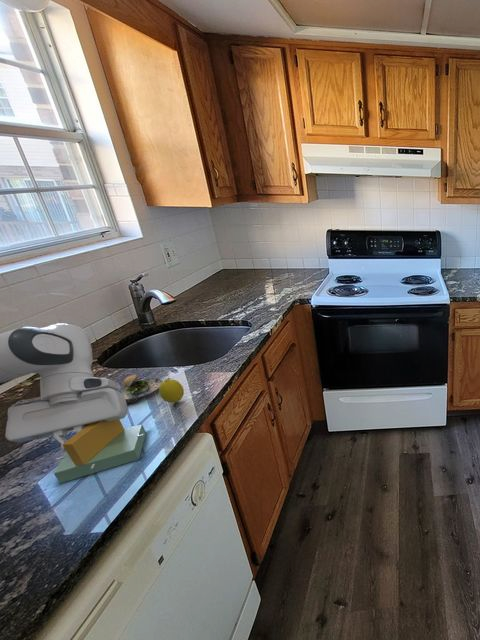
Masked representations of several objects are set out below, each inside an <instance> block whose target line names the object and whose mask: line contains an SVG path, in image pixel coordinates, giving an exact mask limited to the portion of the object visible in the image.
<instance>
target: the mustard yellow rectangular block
mask: <svg viewBox="0 0 480 640" xmlns="http://www.w3.org/2000/svg"><path fill="white" fill-rule="evenodd" d="M104 422H105V420H102V421H97V422H93V423H90V424H89V425H87V426H86V427H85V428H83V429H82V430H81V431H79V432H78V433H77V432H76V433H77V434H76V433H75V434H73V435H72V437H70V438H69V439H67V440H68V441H66V442H65V443H64V444H62V445H63V446H64V448H65V450H66V451H67V453H68V455H69V456H70V458H71V459H72V461H73V463H74V464H75V465H85V464H86V463H87V462H88V461H89V460H90V459H92V458H93V457H94V456H95V455H96V454H97V453H98V452H100V451H101V450H102V449H103V448H104V447H105V446H107V445H108V444H109V443H110V442H111V441H112V440H113V439H115V438H116V437H117V436H118V435H119V434H120V433H121V432H123V431H124V430H125V429H126V428H125V427H124V425H123V424H122V421H121V419H119V420H115V421H110V422H106V423H104ZM66 451H65V452H66Z"/></svg>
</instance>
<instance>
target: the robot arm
mask: <svg viewBox="0 0 480 640" xmlns="http://www.w3.org/2000/svg"><path fill="white" fill-rule="evenodd" d="M91 343H92V342H91V339H90V336H89V335H88V333H87V331H86V330H85V329H83V328H82V327H80V326H78V325H75V324H70V323H53V324H49V325H47V326H45V327H35V326H22V327H18V328H14V329H11V330H8V331H5V332H1V333H0V387H1V386H2V385H5V384H8V383H10V382H12V381H13V380H16V379H18V378H21V377H24V376H28V375H31V374H37V375H39V376H40V378H39V388H40V390H39V391H40V392H39V393H40V396H37V397H32V398H28V399H21V400H18V401H16V403H13V404H12V405H11V406H10V407H8V409H7V421H6V427H5V434H4V435H5V439H6V440H8V441H9V442H13V443H24V442H30V441H34V440H39V439H42V438H46V437H50V436H53V438H55V440H56V441H57V442H58V443H59V444H60V446H61V447H60V450H61V451H62V452H66V450H65V448H64V446H63V445H62V444H64V443H65V442H66V441H68V440H69V439H67V438H66V437H68V435H69V432H72V431H73V432H74V433H75V434H77V433H78V432H79V431H81V430H82V429H83V428H85V427H86V426H87V425H89V424H90V423H93V422H97V421H102V420H105V422H104V423H106V422H110V421H115V420H119V419H120V420H123V419H125V418H126V417H127V415H128V413H129V409H128V404H127V403H126V400H125V397H124V395H123V394H122V393H120V392H119V391H120V389H121V388H122V386H121V384H120V383H118V382H117V381H115V380H112V379H110V378H107V377H95V375H94V372H93V371H92V365H93V362H94V360H93V359H94V357H93V356H94V355H93V349H92V348H93V347H92V344H91Z"/></svg>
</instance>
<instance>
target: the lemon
mask: <svg viewBox="0 0 480 640" xmlns="http://www.w3.org/2000/svg"><path fill="white" fill-rule="evenodd" d="M158 393H159V396H160V398H161V399H162V400H163V401H164V402H166V403H169V404H170V403H173V404H178V402H179V401H181V399H183V397H184V394H185V390H184V386H183V385H182V384H181V382H179V381H178V380H177V379H171V378H166V379H165V380H163V381H162V383H161V385H160V387H159V388H158Z"/></svg>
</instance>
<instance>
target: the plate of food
mask: <svg viewBox="0 0 480 640" xmlns="http://www.w3.org/2000/svg"><path fill="white" fill-rule="evenodd" d="M162 382H163V381H162V379H160V378H145V379H139V375H136V374H133V375H129V376H126V377H125V378H124V380H123V385H122V386H123V387H121V389H120V391H119V392H120V393H122V394H123V395H124V397H125V400H126V403H127V405H130V404H135V403H137V399H141V398H144V397H147V396H150V395H151V394H153V393H154V392H156V391H157V390H159V387H160V385H161V383H162Z"/></svg>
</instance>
